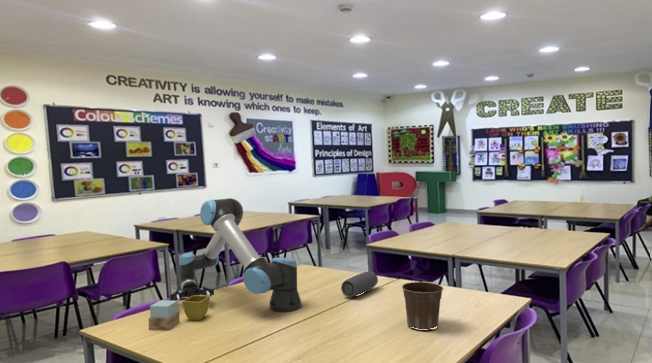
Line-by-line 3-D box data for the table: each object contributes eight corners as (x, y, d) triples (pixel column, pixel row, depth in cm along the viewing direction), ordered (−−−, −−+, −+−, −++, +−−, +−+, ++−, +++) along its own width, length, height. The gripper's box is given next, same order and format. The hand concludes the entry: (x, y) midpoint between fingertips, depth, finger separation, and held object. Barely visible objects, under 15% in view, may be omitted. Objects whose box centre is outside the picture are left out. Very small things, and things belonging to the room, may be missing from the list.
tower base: (179, 323, 192) (179, 311, 192) (169, 330, 183) (168, 319, 183) (160, 322, 193) (159, 311, 193) (149, 330, 185) (148, 318, 184)
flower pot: (201, 322, 192) (200, 301, 191) (182, 321, 194) (182, 301, 193) (210, 315, 200) (209, 295, 200) (192, 314, 202) (192, 295, 202)
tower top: (177, 312, 192) (177, 300, 191) (168, 318, 184) (167, 306, 184) (161, 311, 193) (160, 300, 193) (150, 317, 185) (150, 305, 185)
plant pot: (445, 321, 185) (444, 282, 184) (442, 335, 170) (441, 293, 169) (406, 318, 190) (405, 280, 190) (399, 331, 175) (398, 290, 175)
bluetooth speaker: (363, 287, 240) (363, 269, 240) (379, 289, 235) (378, 271, 234) (340, 298, 222) (339, 278, 222) (356, 301, 216) (355, 280, 216)
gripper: (215, 292, 230) (221, 303, 211) (163, 298, 221) (165, 311, 201) (214, 277, 230) (221, 287, 210) (163, 283, 220) (165, 294, 201)
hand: (194, 299), depth 206 cm, fingers open, 13 cm apart
